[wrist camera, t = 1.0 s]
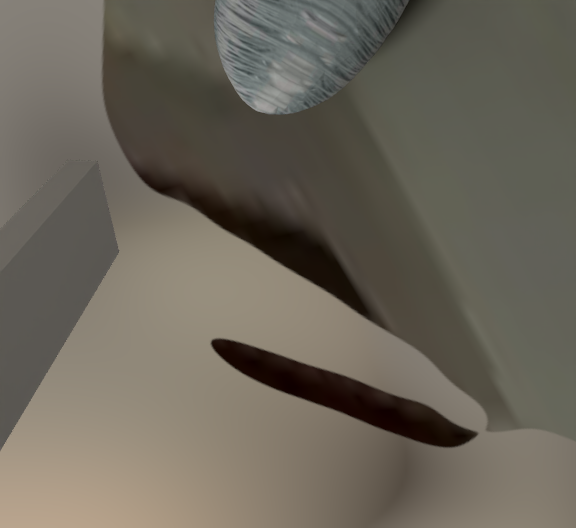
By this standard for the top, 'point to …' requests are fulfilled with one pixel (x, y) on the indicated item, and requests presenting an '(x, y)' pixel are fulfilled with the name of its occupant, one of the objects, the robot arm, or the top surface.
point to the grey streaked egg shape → (298, 47)
